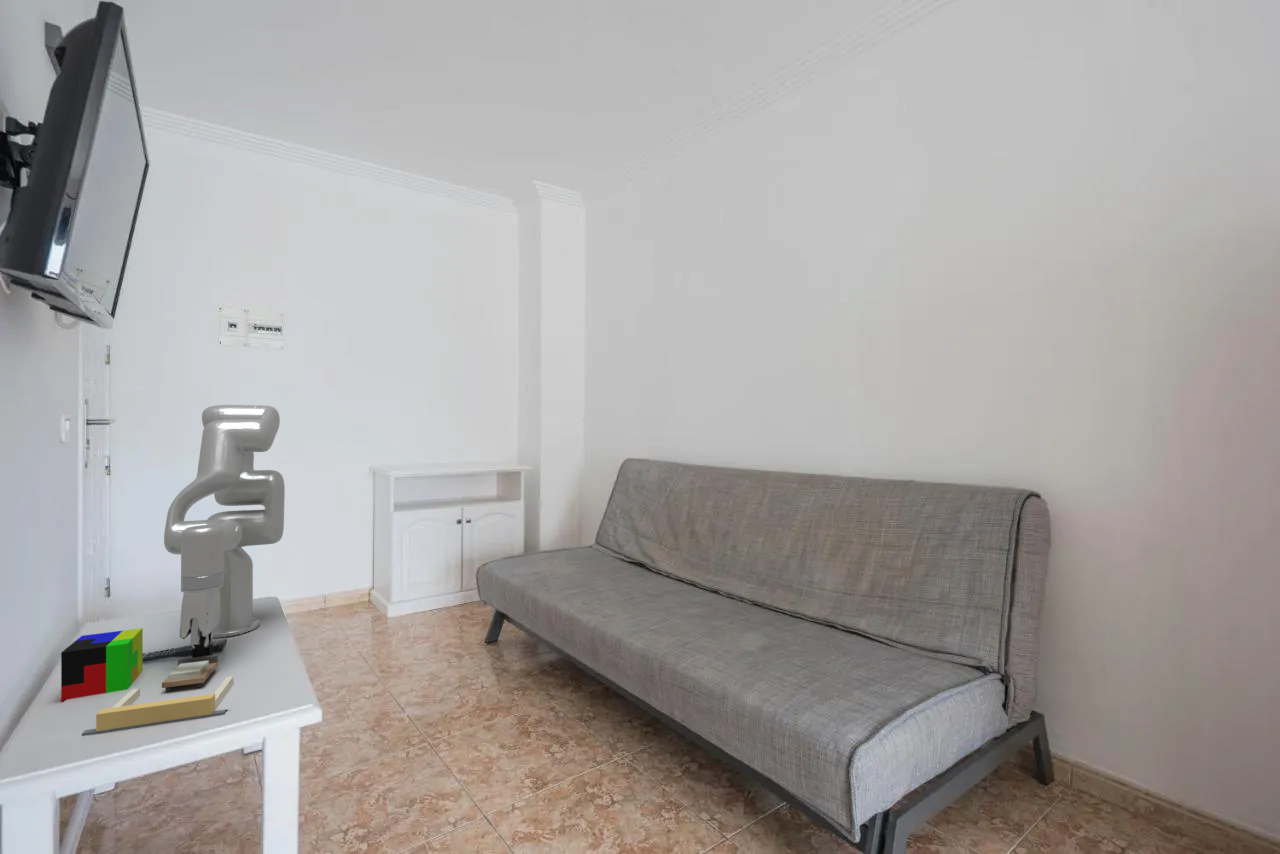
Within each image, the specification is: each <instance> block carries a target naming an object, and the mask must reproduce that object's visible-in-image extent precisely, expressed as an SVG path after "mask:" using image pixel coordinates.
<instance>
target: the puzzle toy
mask: <svg viewBox="0 0 1280 854" xmlns="http://www.w3.org/2000/svg"><path fill="white" fill-rule="evenodd" d="M143 633H144V632H143V628H142V627H140V628H132V629H125V630H118V631H117V630H116V631H108V632H102V633H92V634H84V635H80V636H79V637H78V638H76V640H75V641H73V642H72V643H71V644H70V645H69V646H67V647H66V648H65V649H64V650H63V651H61V654H60V655H61V659H60V662H61V663H60V666H61V669H60V670H61V671H60V672H61V673H60V675H61V676H60V678H61V679H60V681H61V682H60V686H61V689H60V690H61V691H60V693H61V696H60V697H61V699H60V701H61V702H63V703H65V702H66V701H67V700H70V699H71V700H72V699H77V698H85V697H90V696H96V695H103V694H107V693H114V692H115V693H116V692H120V691H126V690H129V689H130V688H131V686H132V685H133V683H134V682H135V681H136V680H137V678H138V677H139V676H140V675H141V674H142V672H143V659H144V658H143V654H144V653H143V645H144V644H143V643H144V642H143V635H144V634H143ZM61 702H60V703H61Z"/></svg>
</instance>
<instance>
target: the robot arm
mask: <svg viewBox="0 0 1280 854" xmlns="http://www.w3.org/2000/svg"><path fill="white" fill-rule="evenodd" d="M280 420H281V417H280V414H279V412H278V410H277V408H276V407H274V406H271V405H254V404H253V405H251V404H250V405H249V404H248V405H247V404H246V405H245V404H217V405H211V406H208V407H206V408H205V409H204V410H203V411H202V413H201V422H202V426H203V431H202V436H201V444H200V450H199V458H198V466H197V471H196V472H197V473H196V477H195V479H194V480H193V481H191V482H189V484H188V485H186V486H185V487H184V488H183V489H182V490H180V492H179V493H178V494H177V495H176V496H175V497H174V499H173V501H172V502H171V504H170V506H169V507H168V511H167V514H166V521H165V525H164V526H165V527H164V533H163V544H164V549H165V550H166V551H167V552H168V553H169V554H172V555H180V592H181V593H183V596H182V601H181V608H180V619H179V620H180V621H179V638H180V639H181V640H185V639H186V638H188V636H190V640H189V645H190V646H191V648H192V649H191V650H192V652H191V654H192V657H200V656H209V655H213V638H227V636H228V637H232V636H233V635H234V636H237V635H238V634H239V635H241V634H245V632H246V633H248V631H249V632H252V631H253V630H255V629H257V628H258V627H259V626H260V619H258V618H256V617H253V616H254V615H253V612H254V610H253V609H254V608H253V607H254V600H253V597H254V592H253V590H254V589H253V588H254V584H253V583H254V581H253V579H254V574H253V573H254V565H253V560H252V557H251V556H250V554H248V552H247V551H246V550H245V549H244V548H243V547H250V546H263V545H265V546H266V545H271V544H272V545H274V544H276V543H278V542H280V541H281V539H282V538H283V535H284V529H285V527H284V526H285V497H286V496H285V495H286V494H285V491H286V489H285V488H286V487H285V481H284V476H283V474H281V472H280V471H277V470H273V469H263V470H262V469H261V470H259V469H258V470H255V469H254V462H255V461H254V459H255V454H254V453H266V452H268V451H269V450H270V449H271V448H272V446H273V444H274V441H275V438H276V435H277V434H278V431H279V428H280V423H281V421H280ZM211 495H213V497H214V500H215V502H216V503H217V504H218V505H220V506H225V507H238V506H241V507H243V506H263V507H264V509H248V510H247V509H242V510H241V509H240V510H227V511H225V510H224V511H220V512H216V513H214V514H211V515H210V516H209V517H208V518H207V519H202V520H201V519H200V520H199V519H198V520H185V517H186V515H187V513H188V511H189V510H190V508H192V506H194V505H195V504H196V503H198V502H199V501H201V500H203V499H204V498H207V497H208V496H211ZM234 636H233V637H234ZM192 657H191V658H192Z"/></svg>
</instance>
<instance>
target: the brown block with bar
mask: <svg viewBox="0 0 1280 854" xmlns="http://www.w3.org/2000/svg"><path fill="white" fill-rule="evenodd" d="M218 666H219V654H212V655H209V656H200V657H184V658H179V659H178V660H177V666H176V668H175V669H173V670H172V672H171V673H169V675H168V676H167V677H166V678H165V679H164V680H163V681H162V682H161V688H162V689H164V688H165V691H166V692H171V691H172V690H173V689H174V687H181V686H188V685H196V687H197V688H202V687H203V686H204V685H205V684H204V683H205V681H206V680H207V679H208V678H209V677H210V676H211V674H214V673H215V671H216V668H218Z"/></svg>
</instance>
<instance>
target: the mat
mask: <svg viewBox="0 0 1280 854" xmlns="http://www.w3.org/2000/svg"><path fill="white" fill-rule="evenodd" d="M234 679H235V678H234V675H230V676H226V677H225V679H224V680H223V681H222V683H221V684H220V685H219V686H218V688H217V689H216V690H215V691H214V693H209V694H203V695H195V696H188V697H187V696H186V697H181V698H179V697H178V698H174V699H166V700H159V701H152V702H151V701H150V702H143V703H138V704H133V703H134V702H135V701H136V700H137V699H138V698H139V697H140V696H141V688H132V689H131V690H130V691H128V692H127V694H125V695H124V696H123V697H122V698H121V699H119V700H118V702H117V703H116V704H114V705H113V706H112V707H108V708H103V709H100V710H99V711H98V712H97V713H96V714H95V715H96V716H95V717H96V718H95V721H96V723H95V728H93V729H85V730H84V731H82V733H81V736H82V737H83V736H88V735H96V734H103V733H109V732H116V731H122V730H129V729H135V728H142V727H149V726H155V725H162V724H169V723H175V722H182V721H187V720H188V721H189V720H196V719H202V718H208V717H216V716H223V715H225V714H226V712H227V711H228V708H227V709H221V710H216V708H217V707H218V705H220V702H221V701H222V700H223V698H224V697H225V696H226V695H227V693H228V692H229V691H230V689H231V688H232V686H233V685H234Z"/></svg>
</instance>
